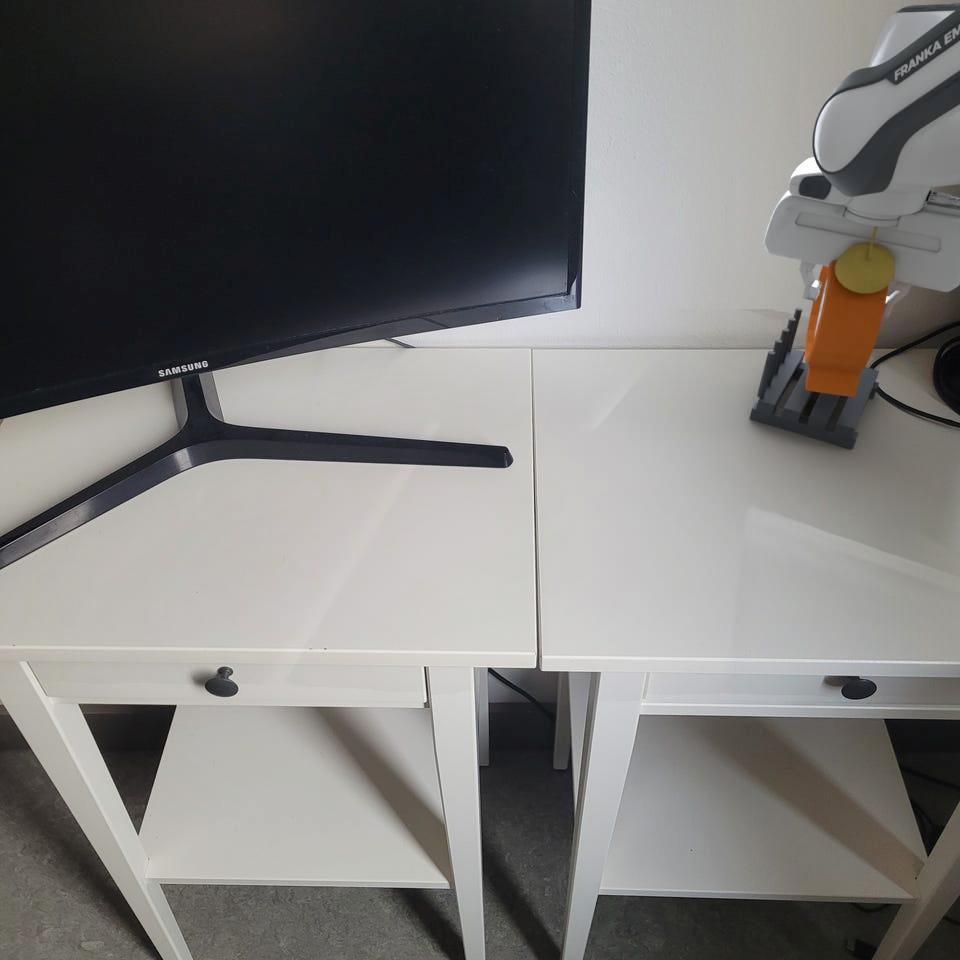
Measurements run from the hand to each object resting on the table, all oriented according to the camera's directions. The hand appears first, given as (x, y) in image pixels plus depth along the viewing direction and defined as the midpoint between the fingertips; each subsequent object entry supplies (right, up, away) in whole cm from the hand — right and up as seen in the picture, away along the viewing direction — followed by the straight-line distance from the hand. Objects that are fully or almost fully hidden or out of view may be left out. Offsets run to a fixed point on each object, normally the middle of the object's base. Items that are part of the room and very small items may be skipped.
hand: (844, 306), depth 92 cm
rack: (0, -10, +9) cm, 14 cm away
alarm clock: (0, -7, +6) cm, 9 cm away
